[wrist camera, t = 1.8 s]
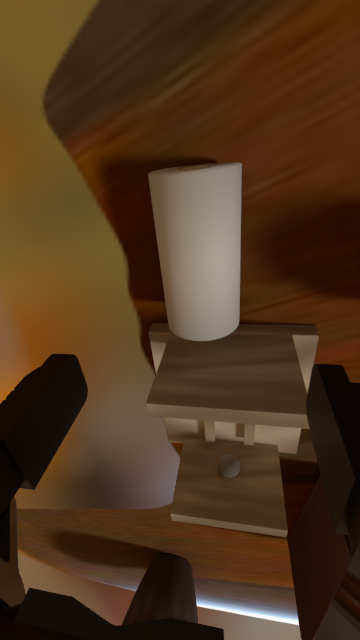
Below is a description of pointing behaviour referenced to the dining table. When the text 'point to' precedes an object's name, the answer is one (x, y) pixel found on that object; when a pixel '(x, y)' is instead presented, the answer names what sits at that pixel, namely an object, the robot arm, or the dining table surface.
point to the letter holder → (316, 560)
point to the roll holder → (233, 419)
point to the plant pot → (164, 592)
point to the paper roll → (199, 246)
